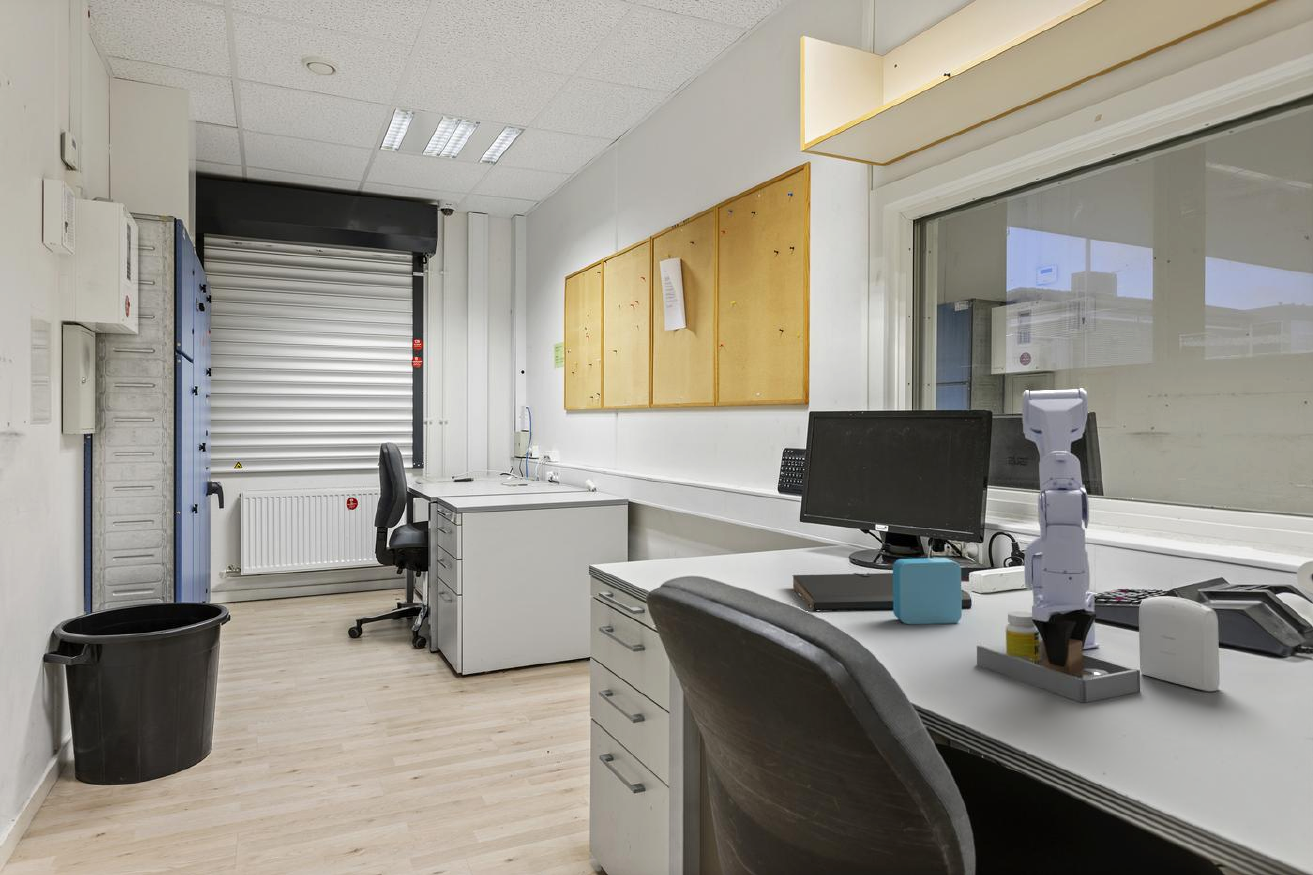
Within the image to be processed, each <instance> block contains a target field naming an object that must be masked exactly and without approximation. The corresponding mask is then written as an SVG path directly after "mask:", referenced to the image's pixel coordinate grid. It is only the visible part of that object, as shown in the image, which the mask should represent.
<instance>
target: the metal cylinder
mask: <svg viewBox="0 0 1313 875" xmlns="http://www.w3.org/2000/svg"><path fill="white" fill-rule="evenodd" d="M1108 674H1109V673H1108V672H1106V671H1103V670H1098V669H1082V670H1081V676H1080V679H1087V678H1092V677H1097V676H1102V675H1108Z"/></svg>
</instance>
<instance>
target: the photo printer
mask: <svg viewBox="0 0 1313 875" xmlns="http://www.w3.org/2000/svg"><path fill="white" fill-rule="evenodd" d="M1138 635H1139V636H1138V638H1139V639H1138V640H1139V642H1138V643H1139V668H1140V674H1142V675H1143V676H1147V677H1152V678H1155V679H1158V680H1161V681H1166V682H1169V683H1173V684H1178V685H1181V686H1185V687H1189V688H1193V689H1196V690H1199V691H1200V690H1201V691H1204V692H1216V691H1218V690H1219V687H1220V682H1221V680H1220V678H1221V677H1220V650H1219V647H1220V646H1219V644H1220V643H1219V619H1218V615H1217V612H1216V611H1215V610H1214V609H1213V608H1211V607H1208V606H1206V605H1205V604H1202V603H1200V602H1197V601H1194V600H1191V599H1188V598H1183V597H1177V596H1168V595H1166V596H1164V595H1163V596H1162V595H1161V596H1153V597H1148V598H1143V599H1142V600H1141V602H1140V604H1139V608H1138Z"/></svg>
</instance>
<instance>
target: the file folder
mask: <svg viewBox="0 0 1313 875" xmlns="http://www.w3.org/2000/svg"><path fill="white" fill-rule="evenodd" d="M792 583H793V584H792V586H793V587H792V588H794V589H795V590H796V591H797V592H798V593H799V594H800V595H801V597H802V598H803V599H804V600H805V601H806V602H807V603H806V602H805V601H804V600H803V599H802V598H801V597H800V598H801V599H802V600H803V601H804V602H805V603H806V605H808V604H809V605H810V606H811V610H812V611H813V612H818V611H817V610H832V611H831V612H838V611H837V610H857V611H893V572H888V573H886V572H885V573H884V572H883V573H881V572H879V573H870V572H868V573H858V572H854V573H841V574H839V573H838V574H837V573H833V574H792ZM794 589H793V590H794ZM795 590H794V591H795ZM796 591H795V592H796ZM961 597H962V609H972V603H973V602H972V597H971V595H970V593H969V592H968V591H965V590H963V589H962V588H961Z"/></svg>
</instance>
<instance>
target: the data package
mask: <svg viewBox="0 0 1313 875" xmlns="http://www.w3.org/2000/svg"><path fill="white" fill-rule="evenodd" d="M892 573H893V610H892V611H893V615H894V616H895V618H897V619H898V620H899V621H901V622H903V623H904V624H905V625H933V624H934V625H935V624H936V625H937V624H943V625H944V624H956V623H958V622H960V620H961V619H962V615H963V608H962V597H961V589H962V567H961V565H960V564H959V563H958V562H956V561H955V560H954V561H953V560H951V559H949V558H946V557H939V558H938V557H933V558H927V557H926V558H899V559H897V560H895V561H894V562H893V565H892Z"/></svg>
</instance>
